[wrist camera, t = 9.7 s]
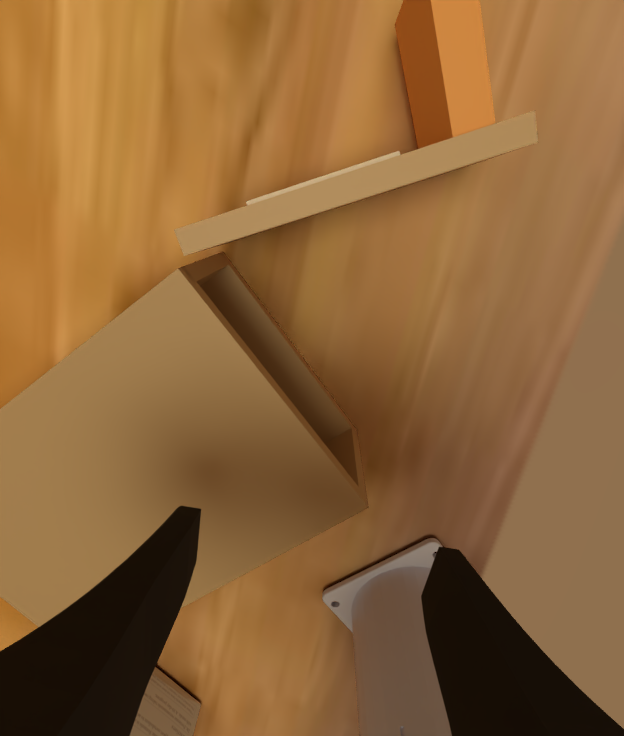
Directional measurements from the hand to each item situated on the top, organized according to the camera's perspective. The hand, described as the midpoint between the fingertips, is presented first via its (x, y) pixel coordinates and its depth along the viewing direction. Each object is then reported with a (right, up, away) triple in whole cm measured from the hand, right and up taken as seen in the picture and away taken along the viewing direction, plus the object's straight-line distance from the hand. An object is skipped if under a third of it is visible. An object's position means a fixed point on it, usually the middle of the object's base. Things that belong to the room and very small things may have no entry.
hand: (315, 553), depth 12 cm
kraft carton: (-7, +2, +9) cm, 12 cm away
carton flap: (+1, +15, +4) cm, 15 cm away
